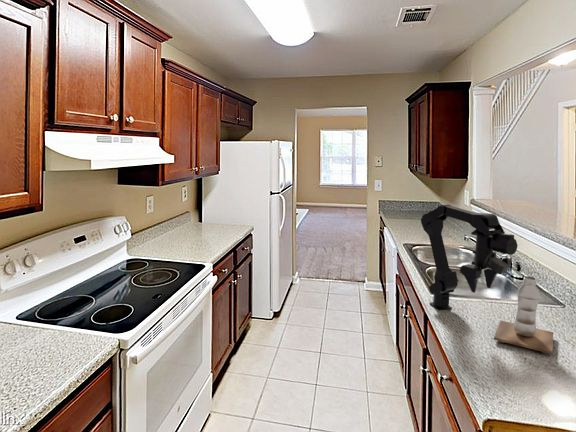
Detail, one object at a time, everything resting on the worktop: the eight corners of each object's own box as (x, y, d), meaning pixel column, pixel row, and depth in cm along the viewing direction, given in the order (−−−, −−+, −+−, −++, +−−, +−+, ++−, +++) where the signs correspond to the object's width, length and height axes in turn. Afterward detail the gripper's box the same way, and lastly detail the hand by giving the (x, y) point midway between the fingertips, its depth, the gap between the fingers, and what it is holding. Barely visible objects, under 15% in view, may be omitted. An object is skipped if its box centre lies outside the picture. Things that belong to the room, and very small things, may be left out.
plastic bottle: (525, 329, 131) (531, 274, 128) (540, 338, 125) (547, 281, 121) (508, 330, 131) (513, 275, 127) (522, 339, 124) (528, 281, 121)
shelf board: (493, 342, 126) (494, 337, 126) (500, 325, 139) (500, 320, 139) (551, 357, 117) (552, 351, 117) (552, 337, 130) (553, 332, 129)
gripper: (490, 257, 125) (486, 302, 127) (521, 250, 134) (517, 292, 136) (460, 250, 134) (457, 292, 136) (491, 244, 143) (488, 283, 146)
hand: (481, 290), depth 138 cm, fingers open, 9 cm apart
